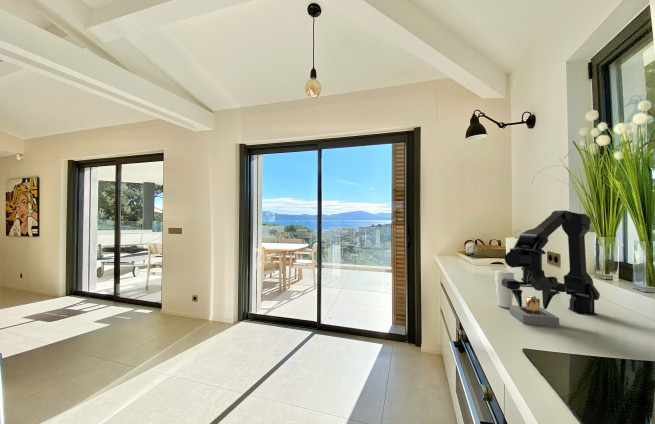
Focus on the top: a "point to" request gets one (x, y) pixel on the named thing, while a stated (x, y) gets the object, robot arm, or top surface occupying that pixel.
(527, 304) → the battery cell
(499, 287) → the drinking glass
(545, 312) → the gray cradle
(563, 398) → the top surface
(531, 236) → the robot arm
